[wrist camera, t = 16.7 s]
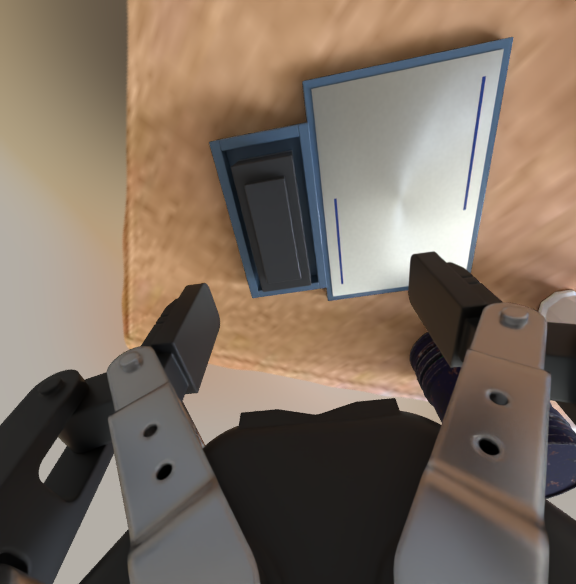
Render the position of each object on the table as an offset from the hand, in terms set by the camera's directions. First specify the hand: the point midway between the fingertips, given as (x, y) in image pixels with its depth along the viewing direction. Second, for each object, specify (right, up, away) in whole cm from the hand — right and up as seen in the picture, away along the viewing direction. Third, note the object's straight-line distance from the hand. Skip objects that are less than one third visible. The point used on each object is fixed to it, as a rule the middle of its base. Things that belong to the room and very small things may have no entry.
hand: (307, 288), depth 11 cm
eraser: (-2, +7, +15) cm, 17 cm away
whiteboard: (+9, +9, +15) cm, 20 cm away
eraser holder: (-2, +7, +16) cm, 18 cm away
